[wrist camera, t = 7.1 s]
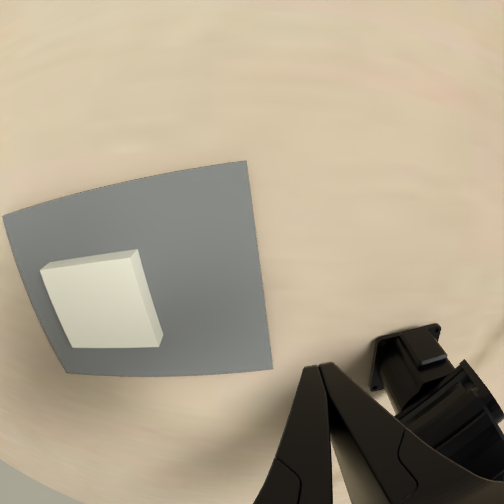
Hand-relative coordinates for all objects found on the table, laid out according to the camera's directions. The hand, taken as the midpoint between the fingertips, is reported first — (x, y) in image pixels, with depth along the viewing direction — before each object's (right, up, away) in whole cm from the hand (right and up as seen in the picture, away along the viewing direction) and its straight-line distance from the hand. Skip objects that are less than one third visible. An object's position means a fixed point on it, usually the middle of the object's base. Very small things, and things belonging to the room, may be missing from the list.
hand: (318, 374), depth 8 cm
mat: (-11, 0, +13) cm, 17 cm away
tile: (-9, 0, +12) cm, 15 cm away
